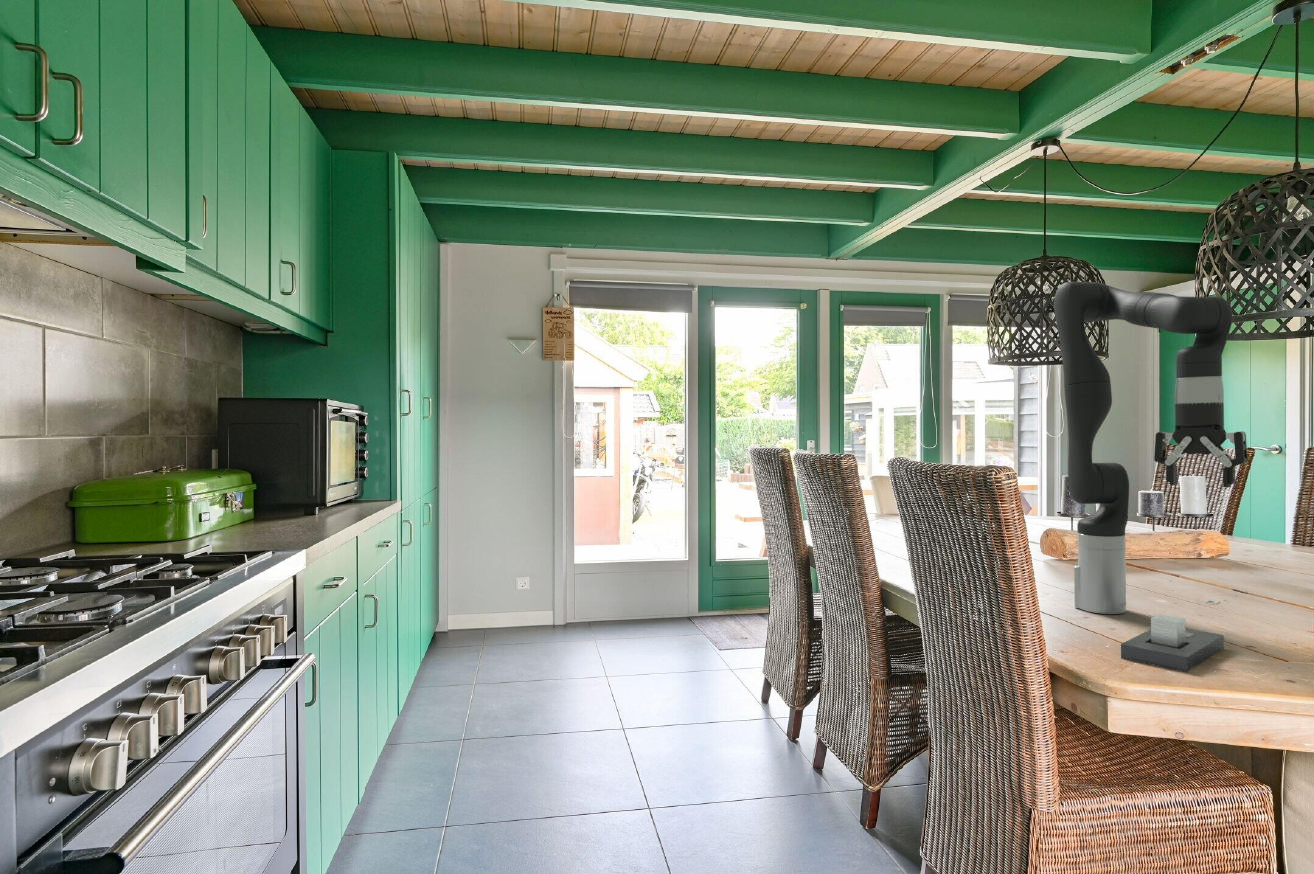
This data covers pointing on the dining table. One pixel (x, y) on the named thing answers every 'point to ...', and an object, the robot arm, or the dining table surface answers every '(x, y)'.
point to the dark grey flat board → (1174, 650)
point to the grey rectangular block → (1168, 631)
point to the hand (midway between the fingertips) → (1199, 485)
